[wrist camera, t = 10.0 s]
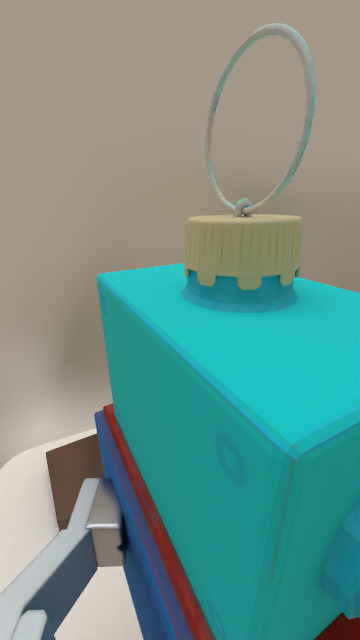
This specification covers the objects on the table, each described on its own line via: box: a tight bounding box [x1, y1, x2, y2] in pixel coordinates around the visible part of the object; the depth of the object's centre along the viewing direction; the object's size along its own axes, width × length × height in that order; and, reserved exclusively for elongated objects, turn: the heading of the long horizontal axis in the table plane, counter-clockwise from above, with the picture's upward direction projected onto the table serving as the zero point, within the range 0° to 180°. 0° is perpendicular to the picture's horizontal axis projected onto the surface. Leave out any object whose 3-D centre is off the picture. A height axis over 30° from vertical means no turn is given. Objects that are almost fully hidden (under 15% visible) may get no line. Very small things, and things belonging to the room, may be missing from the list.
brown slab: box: [46, 434, 105, 531], centre depth 35 cm, size 24×9×2 cm, turn 120°
